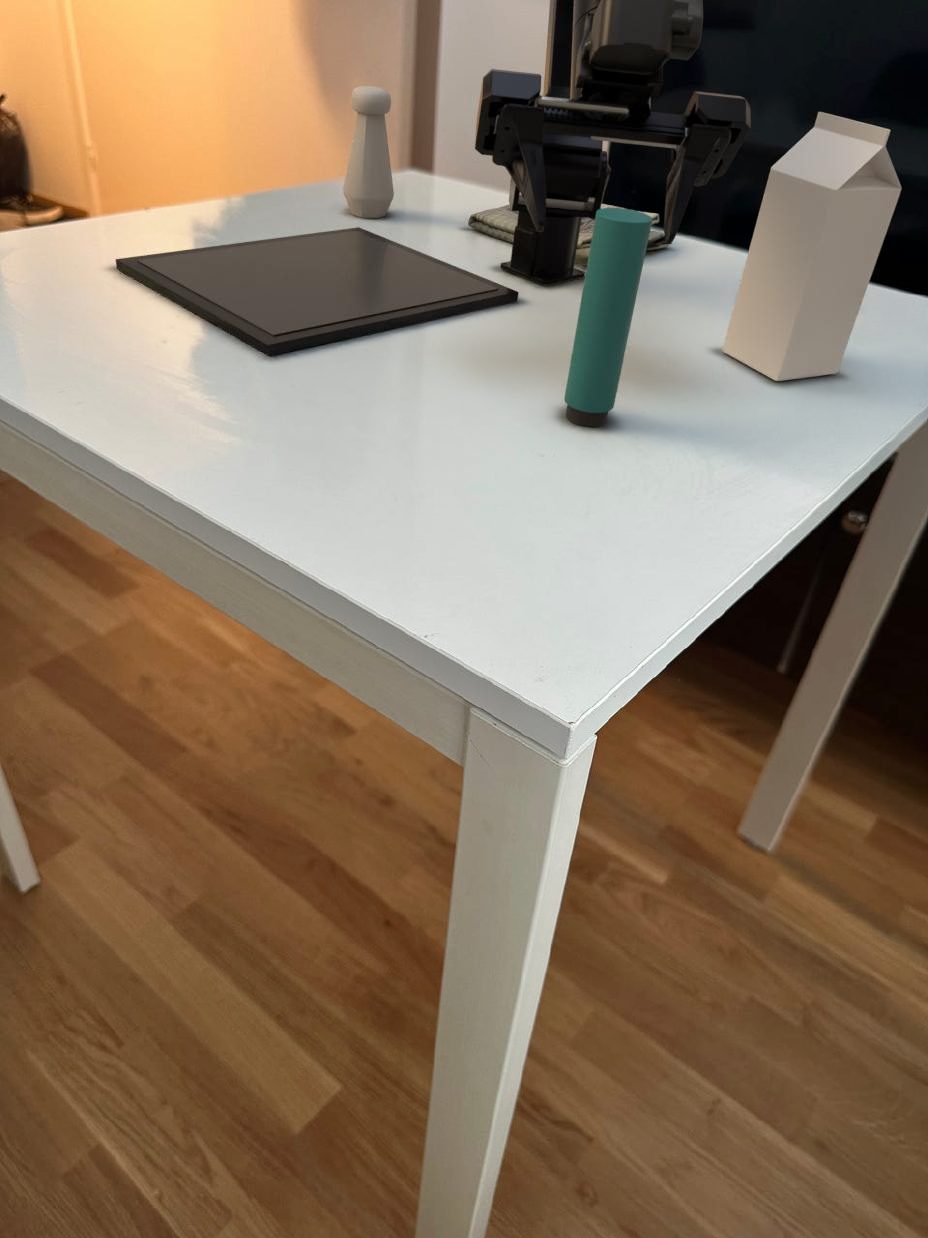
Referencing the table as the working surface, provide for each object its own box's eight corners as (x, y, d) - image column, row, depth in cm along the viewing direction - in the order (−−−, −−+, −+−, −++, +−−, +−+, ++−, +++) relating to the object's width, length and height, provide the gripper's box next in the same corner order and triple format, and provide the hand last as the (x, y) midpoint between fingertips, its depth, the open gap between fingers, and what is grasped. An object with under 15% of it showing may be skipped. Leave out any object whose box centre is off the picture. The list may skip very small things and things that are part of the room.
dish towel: (461, 228, 107) (464, 198, 105) (554, 211, 119) (558, 184, 117) (591, 271, 98) (596, 239, 96) (678, 248, 109) (684, 219, 108)
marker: (583, 403, 69) (619, 205, 61) (620, 421, 67) (663, 218, 59) (551, 414, 67) (585, 210, 59) (589, 433, 65) (629, 224, 57)
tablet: (358, 235, 100) (358, 225, 100) (517, 301, 88) (519, 290, 87) (116, 268, 84) (115, 257, 83) (269, 356, 71) (269, 343, 70)
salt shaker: (401, 214, 110) (407, 89, 102) (377, 222, 105) (382, 93, 98) (358, 204, 111) (361, 81, 104) (333, 212, 107) (335, 84, 99)
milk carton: (776, 383, 77) (855, 128, 65) (720, 352, 82) (785, 110, 70) (837, 375, 80) (923, 130, 68) (779, 345, 85) (851, 112, 73)
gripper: (497, -80, 58) (485, 145, 56) (784, -45, 60) (784, 176, 57) (479, 53, 69) (469, 246, 67) (722, 80, 71) (720, 270, 68)
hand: (606, 234), depth 64 cm, fingers open, 9 cm apart
